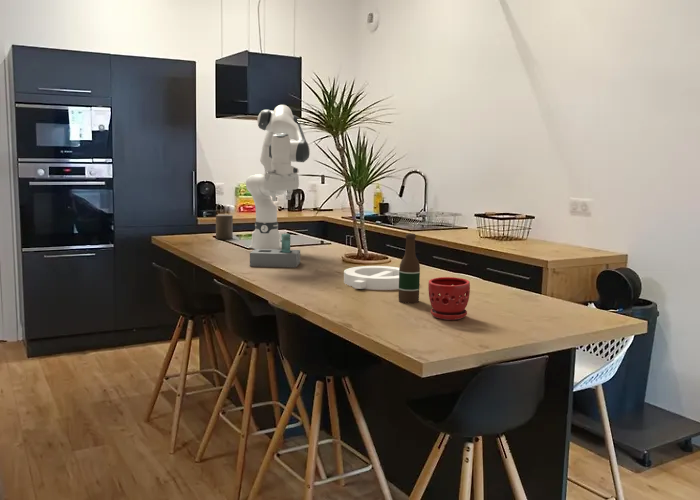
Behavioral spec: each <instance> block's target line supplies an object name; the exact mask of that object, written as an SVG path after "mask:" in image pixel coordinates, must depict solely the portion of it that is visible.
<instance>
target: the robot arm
mask: <svg viewBox="0 0 700 500" xmlns="http://www.w3.org/2000/svg"><path fill="white" fill-rule="evenodd" d="M297 119H300V117H299V116H297V115H294V114H293V112H292V109H291V108H290V107H289V106H287V105H286V104H279V105H277V106H275V107H274V110H270V109H263V110H260V112H259V114H258V116H257V119H256V120H257V125H258V126H257V127H258V128H259V129H260V130H262V131H266V133H265V135H264V140H263V143H262V148H261V153H260V158H259V160H260V163H261V165H262V166H263V167H264V173H256V174H251V175H249V176H248V177H247V178H246V181H245V187H246V190H247V191H248V192H249V194H250V195H251V197H252V199H253V200H252V201H253V202H254V206H255V221H254V228H255V229H254V230H253V231H252V233H251V244H250V245H249V246H248V248H249V249H253V250H254V249H281V248H282V238H281V232H280V231H279V222H278V208H277V205H276V203H274V202H277V201H278V197H277V196H282V195H285V193H286V192H287V194H286V196H285V200H290V201H291V199H292V195H293V192H294V190H297V189H299V185H300V179H299V174H298V173H299V168H298V167H296V166H294V165H292V163H295V162H296V163H305V162H306V161H308V160H309V158H310V154H311V153H310V152H311V151H310V150H311V149H310V146H309V143H308V142H307V139H306V137H305V134H304V131H303V129H302V125H301V124H300V123H301V122H300V123H298V122H297Z"/></svg>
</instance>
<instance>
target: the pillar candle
mask: <svg viewBox="0 0 700 500" xmlns="http://www.w3.org/2000/svg"><path fill="white" fill-rule="evenodd" d="M233 217H234V216H233V214H225V213H223V214H215V239H217V240H232V239H233V237H234V236H233V235H234V234H233V233H234V232H233V230H234V229H233V219H234V218H233Z"/></svg>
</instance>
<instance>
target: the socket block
mask: <svg viewBox="0 0 700 500" xmlns="http://www.w3.org/2000/svg"><path fill="white" fill-rule="evenodd" d="M300 263H301V249H290V253H281V249H253V250H251V252H249V266H250V267H266V268H273V267H274V268H298V266H299V265H300Z"/></svg>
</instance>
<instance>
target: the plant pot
mask: <svg viewBox="0 0 700 500" xmlns="http://www.w3.org/2000/svg"><path fill="white" fill-rule="evenodd" d="M470 284H471V282H470V281H469V280H468V279H466V278H462V277H454V276H452V277H451V276H448V277H447V276H445V277H444V276H443V277H440V276H439V277H434V278H431V279H429V280H428V290H427V291H428V299H429V303H430V306H431V307H432V308H431V309H430V313H431V315H432V316H433V317H434V318H437V319H439V320H445V321H454V320H455V321H458V320H461V319H464V318H465V317H466V316H467V314H468V311H467V310H466V308H467V306H468V304H469V301H470V295H471V294H470V293H471V292H470V291H471V285H470Z"/></svg>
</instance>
